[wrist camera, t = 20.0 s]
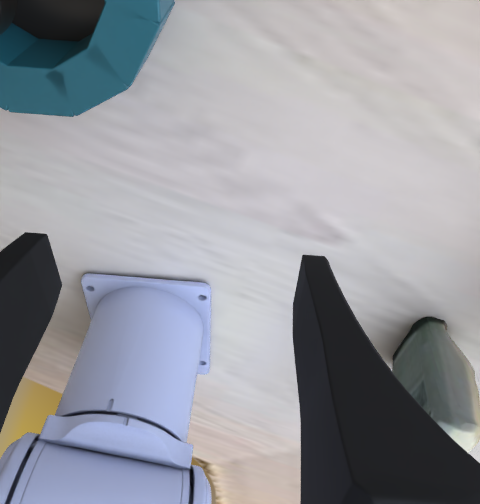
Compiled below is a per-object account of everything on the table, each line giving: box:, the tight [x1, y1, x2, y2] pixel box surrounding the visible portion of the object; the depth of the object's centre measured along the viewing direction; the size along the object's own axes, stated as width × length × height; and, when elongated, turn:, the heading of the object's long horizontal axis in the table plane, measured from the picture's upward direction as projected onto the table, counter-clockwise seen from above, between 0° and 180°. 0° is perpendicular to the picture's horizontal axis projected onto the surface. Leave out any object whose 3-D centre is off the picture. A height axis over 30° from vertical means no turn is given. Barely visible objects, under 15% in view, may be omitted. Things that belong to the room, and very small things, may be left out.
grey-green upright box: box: [393, 317, 480, 453], centre depth 28 cm, size 6×5×8 cm
